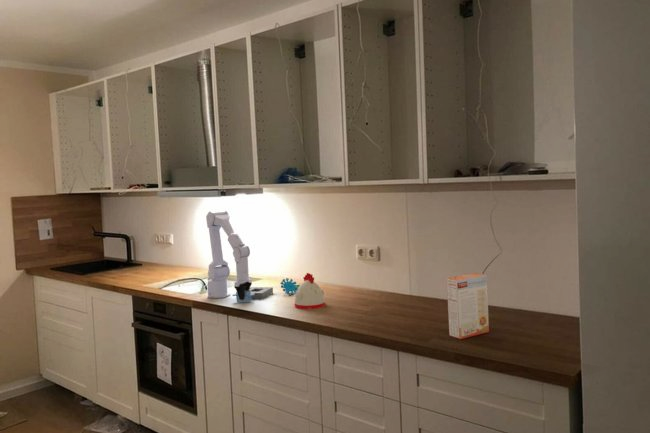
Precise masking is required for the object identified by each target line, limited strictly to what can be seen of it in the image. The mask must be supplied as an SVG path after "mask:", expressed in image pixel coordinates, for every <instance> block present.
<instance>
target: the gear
mask: <svg viewBox="0 0 650 433" xmlns="http://www.w3.org/2000/svg"><path fill="white" fill-rule="evenodd" d="M300 285H301V284H297V281H296V280H295V281H294V279H292V278H290V280H289V278H288V277H286V278H285V279H284V278H283V279H282V280H281V282H280V288H281V289H282V291H283V292H285V293H286V294H287V295H289V294H290V295H295V292H297V290H298V288H299V287H300Z"/></svg>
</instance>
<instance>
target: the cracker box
mask: <svg viewBox="0 0 650 433" xmlns="http://www.w3.org/2000/svg"><path fill="white" fill-rule="evenodd" d="M446 291H447V292H446V293H447V311H448V313H447V314H448V333H449V337H453V338H455V339H459V340H463V339H468V338H470V337H471V338H472V337H475V336H479V335H483V334H487V333H489V332H490V328H489V327H490V325H489V300H488V298H489V296H488V275H487V274H482V273H478V272H476V273H475V272H474V273H469V274H464V275H457V276H451V277H447V278H446Z"/></svg>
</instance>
